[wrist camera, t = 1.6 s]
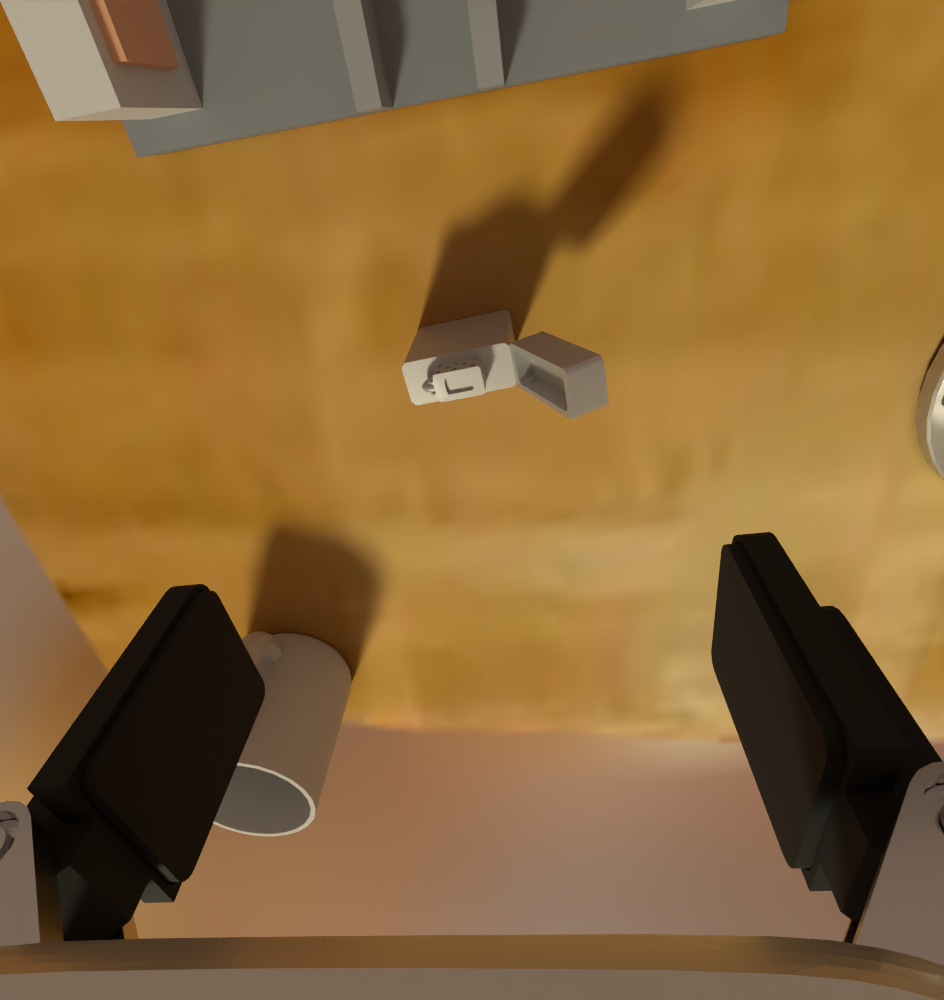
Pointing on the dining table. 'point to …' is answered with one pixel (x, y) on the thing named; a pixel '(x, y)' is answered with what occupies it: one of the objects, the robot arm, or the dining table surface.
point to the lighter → (502, 365)
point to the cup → (287, 735)
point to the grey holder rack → (336, 55)
